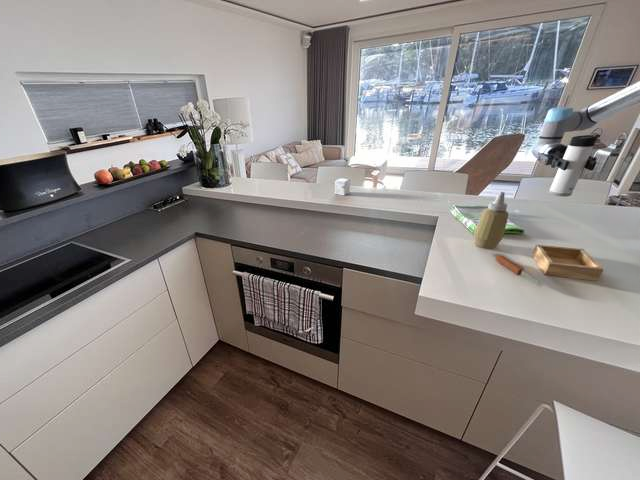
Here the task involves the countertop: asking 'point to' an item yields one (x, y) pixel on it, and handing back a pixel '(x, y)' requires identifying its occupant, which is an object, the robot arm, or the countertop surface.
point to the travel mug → (573, 165)
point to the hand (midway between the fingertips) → (579, 166)
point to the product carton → (342, 186)
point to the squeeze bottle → (492, 224)
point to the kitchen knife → (516, 269)
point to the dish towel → (478, 218)
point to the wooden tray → (566, 262)
